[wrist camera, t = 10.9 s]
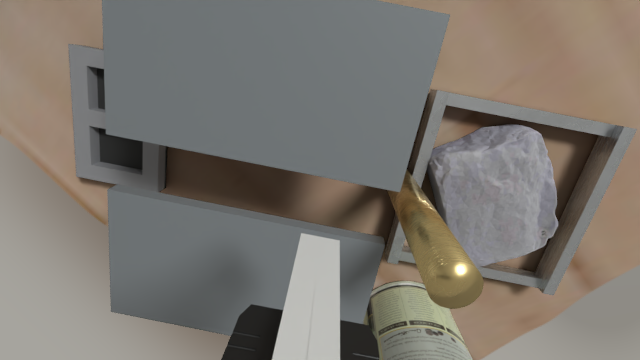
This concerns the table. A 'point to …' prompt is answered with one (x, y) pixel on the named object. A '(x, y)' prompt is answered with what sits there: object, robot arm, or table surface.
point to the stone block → (495, 192)
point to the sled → (441, 245)
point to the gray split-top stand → (256, 139)
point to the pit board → (90, 132)
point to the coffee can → (412, 325)
